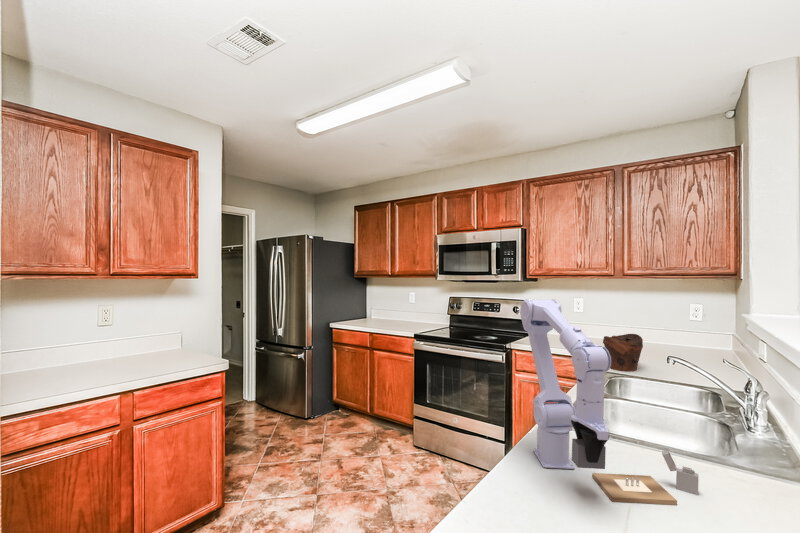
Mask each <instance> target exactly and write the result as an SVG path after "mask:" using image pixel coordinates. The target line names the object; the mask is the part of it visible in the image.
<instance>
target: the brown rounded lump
mask: <svg viewBox="0 0 800 533" xmlns="http://www.w3.org/2000/svg"><path fill="white" fill-rule="evenodd" d="M643 342H644V340H643V337H642V336H641V335H639V334H638V333H624V334H619V335H611V336H608V335H605V336H603V339H602V344H603V346H604V347H605V348H606V349H607V350H608V352H609V354H610V357H611V366H610V369H611V370H615V371H621V372H636V371H637V368H638V366H639V361H640V357H641V352H642V349H643V347H644V345H643Z"/></svg>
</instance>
